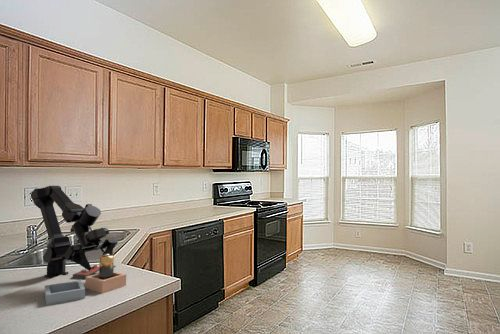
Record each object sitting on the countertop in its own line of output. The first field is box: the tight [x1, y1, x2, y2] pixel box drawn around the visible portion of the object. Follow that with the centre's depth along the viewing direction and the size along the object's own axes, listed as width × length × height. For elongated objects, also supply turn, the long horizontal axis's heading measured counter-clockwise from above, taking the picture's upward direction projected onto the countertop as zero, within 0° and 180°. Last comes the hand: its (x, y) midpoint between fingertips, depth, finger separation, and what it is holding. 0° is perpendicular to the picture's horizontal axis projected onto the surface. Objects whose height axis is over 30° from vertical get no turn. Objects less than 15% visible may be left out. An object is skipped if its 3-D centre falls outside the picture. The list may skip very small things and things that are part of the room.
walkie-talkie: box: [72, 264, 117, 281], centre depth 141 cm, size 9×4×20 cm
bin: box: [84, 270, 127, 294], centre depth 123 cm, size 10×10×5 cm
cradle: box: [43, 279, 86, 306], centre depth 113 cm, size 11×11×4 cm
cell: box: [98, 254, 115, 280], centre depth 123 cm, size 5×5×12 cm
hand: (101, 266), depth 124 cm, fingers open, 9 cm apart
